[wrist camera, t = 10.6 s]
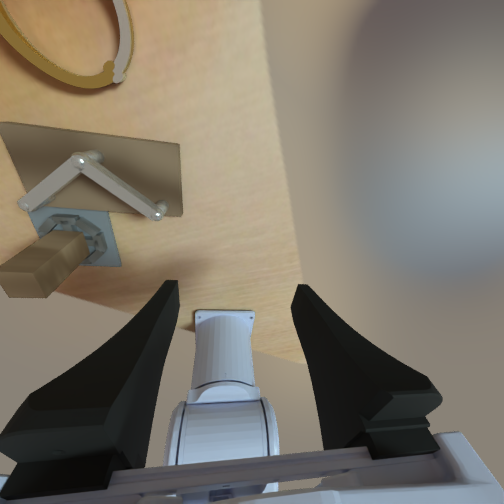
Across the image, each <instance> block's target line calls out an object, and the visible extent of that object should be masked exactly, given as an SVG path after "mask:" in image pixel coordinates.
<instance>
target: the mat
mask: <svg viewBox="0 0 504 504" xmlns="http://www.w3.org/2000/svg"><path fill="white" fill-rule="evenodd" d="M57 213H59V214H72V215H79V216H80V218H81V217H82V216H83V217H84V218H86V219H87V220H89V221H90V222H91V223H93V224H94V225H96V226H97V227H98V228H100V229H101V231H100V232H103V233H104V236H105V240H106V243H107V247H108V248H107V249H106V250H107V251H106V252H105V253H104V254H103V255H102V256H101V257H100V258H99V259H98V260H97V261H96V262H95V263H92V264H79V265H84V266H109V267H121V261H120V257H119V253H118V249H117V245H116V241H115V237H114V233H113V229H112V225H111V221H110V218H109V214H108V211H99V210H86V209H73V208H61V207H48V206H42V207H40V208H38V209H37V210H36V211H33V212H28V214H29V216H30V218H31V221H32V223H33V225H34V227H35V229H36V231H37V233H38V231H39V230H38V229H39V227H40V226H41V225H42V224H43V223H44V222H45V221H46V220H47V218H48V217H50V216H52V215H53V214H54V215H55V214H57ZM77 229H78V232H83V234H84V236H90V235H89V234H88V233H86V232H85V231H83V230H82V229H80V228H79V227H77ZM53 230H60V231H64V230H63V227H62V225H61V224H58V225H57V226H56V227H55V228H54V229H53ZM53 230H52V231H53ZM38 235H39V234H38ZM39 237H40V236H39ZM40 239H41V238H40ZM88 249H89V252H90V254H89V255H91V254H92V253H93V252H95V251H96V248H95V247H93V246H88Z"/></svg>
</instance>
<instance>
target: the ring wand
mask: <svg viewBox="0 0 504 504" xmlns="http://www.w3.org/2000/svg"><path fill="white" fill-rule="evenodd" d="M58 224H61V225H62V227H63V230H64V231H60V230H53V229H54V228H55V227H56V226H57V225H58ZM77 227H79V228H80V229H82V230H83V231H85V232H86V233H88V234H89V235H90V236H84V234H83V232H78V229H77ZM38 230H39V231H38V234H39V236H40V238H41V239H39V240H38V241H36V242H35V243H33V244H32V245H30V246H29V247H27V248H26V249H24V250H23V251H21V252H20V253H18V254H17V255H15V256H14V257H12V258H11V259H9V260H8V261H6V262H5V263H4V264H2V265H1V266H0V285H1V286H2V288H3V289H4V291H5V292H6V294H7V295H8V297H9V298H47V297H48V296H49V295H50V294H51V293H52V292H53V291H54V290H55V289H56V288H57V287H58V286H59V285H60V284H61V283H62V282H63V281H64V280H65V279H66V278H67V277H68V276H69V275H70V274H71V273H72V272H73V271H74V270H75V269H76V268H77V267H78V266H79V264H92V263H95V262H96V261H97V260H98V259H99V258H100V257H101V256H102V255H103V254H104V253H105V252H106V251H107V250H106V249H107V248H108V247H107V243H106V240H105V236H104V233H103V232H100V231H101V229H100V228H98V227H97V226H96V225H94V224H93V223H91V222H90V221H89V220H87V219H86V218H84V217H83V216H82V217H81V218H80V216H79V215H72V214H59V213H57V214H55V215H54V214H53V215H52V216H50V217H48V218H47V220H46V221H45V222H44V223H43V224H42V225H41V226H40V227H39V229H38ZM52 230H53V231H52ZM88 246H93V247H95V248H96V251H95V252H93V253H92V254H91V255H89V254H90V252H89V249H88Z"/></svg>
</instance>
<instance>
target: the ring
mask: <svg viewBox="0 0 504 504" xmlns="http://www.w3.org/2000/svg"><path fill="white" fill-rule="evenodd" d="M113 3H114V6H115V9H116V12H117V16H118V21H119V28H120V45H119V51H118V54H117V57H116V59H115V61H107V62H106V63H105V64H104V66H103V70H104V72H102V73H100V74H98V75H94V76H81V75H78V74H75V73H72V72H69V71H67V70H65V69H63V68H61V67H60V66H58V65H56V64H55V63H53V62H52V61H51V60H49V59H48V58H47V57H46V56H44V55H43V54H42V53H41V52H40V51H39V50H38V49H37V48H36V47H35V46H34V45H33V44H32V43H31V42H30V41H29V39H28V38H27V37H26V36H25V35H24V33H23V32H22V31H21V29H20V28H19V26H18V25H17V23H16V22H15V20H14V19H13V17H12V16H11V14H10V12H9V11H8V9H7V7H6V5H5V3H4V1H3V0H0V34H1V35H2V36H3V37H4V38H5V39H6V41H7V42H8V43H9V44H10V45H11V46H12V47H13V48H14V49H16V50H17V51H18V52H19V53H20V54H21V55H22V56H23V57H25V58H26V59H27V60H28V61H30V62H31V63H32V64H33V65H35V66H36V67H38V68H39V69H41V70H42V71H44V72H45V73H47V74H48V75H50V76H52V77H54V78H56V79H58V80H60V81H62V82H64V83H67V84H70V85H73V86H76V87H81V88H100V87H104V86H107V85H110V84H112V83H120V82H123V81H124V80H125V79H126V73H125V72H126V70H127V69H128V67H129V64H130V62H131V59H132V55H133V48H134V32H133V25H132V19H131V15H130V11H129V8H128V5H127V2H126V0H113Z"/></svg>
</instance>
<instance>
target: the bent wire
mask: <svg viewBox="0 0 504 504" xmlns="http://www.w3.org/2000/svg"><path fill="white" fill-rule="evenodd" d="M103 162H104V155H103V154H102V153H101V152H100V151H99V150H96V149H93V150H89V151H86V152H75V153H73V154H72V155H71V157H70V158H69V159H68V160H67V161H66V162H64V163H63V164H62V165H61V166H60V167H58V168H57V169H56V170H55V171H54V172H52V173H51V174H50V175H49V176H48V177H46V178H45V179H44V180H43V181H41V182H40V183H39V184H38V185H37V186H35V187H34V188H33V189H32V190H31V191H29V192H28V193H27V194H26V195H25V196H23V197H22V198H20V199H19V201H17V202H18V206H19V207H20V208H21V209H22V210H24V211H27V212H33V211H36V210H37V209H38V208H40V207H42V206H44V205H46V204H48V203H50V202H52V201H54V200H55V198H56V197H55V194H57V193H58V192H59V191H60V190H62V189H63V188H64V187H65V186H67V185H68V184H69V183H70V182H72V181H73V180H74V179H76V178H77V177H78V176H79V175H81V174H82V173H83V174H85V175H86V176H88V177H89V178H90V179H92V180H93V181H95V182H96V183H98V184H99V185H101V186H102V187H104V188H105V189H107V190H108V191H110V192H111V193H112V194H114V195H115V196H117V197H118V198H120V199H121V200H123V201H124V202H126V203H127V204H129V205H130V206H132V207H133V208H134V209H136V210H137V211H139V212H140V213H142V214H143V215H145V216H146V217H148V218H149V219H151V220H152V221H153V220H154V221H160V220H162V219H163V217H164V214H165V213H166V211H167V210H168V208H169V204H168V202H167V201H165V200H159V201H158V202H157V203H156V204H154V203H153V202H152V201H150V200H149V199H148V198H146V197H145V196H143V195H142V194H141V193H139V192H138V191H137V190H135V189H134V188H132V187H131V186H130V185H128V184H127V183H126V182H124V181H123V180H121V179H120V178H119V177H117V176H116V175H115V174H113V173H112V172H110V171H109V170H108V169H106V168H105V167H104V166H102V165H101V163H103Z"/></svg>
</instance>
